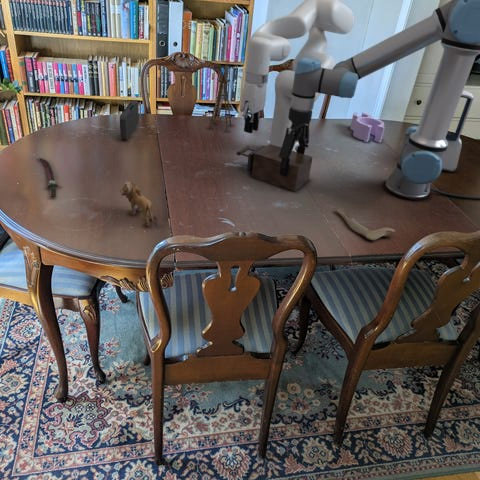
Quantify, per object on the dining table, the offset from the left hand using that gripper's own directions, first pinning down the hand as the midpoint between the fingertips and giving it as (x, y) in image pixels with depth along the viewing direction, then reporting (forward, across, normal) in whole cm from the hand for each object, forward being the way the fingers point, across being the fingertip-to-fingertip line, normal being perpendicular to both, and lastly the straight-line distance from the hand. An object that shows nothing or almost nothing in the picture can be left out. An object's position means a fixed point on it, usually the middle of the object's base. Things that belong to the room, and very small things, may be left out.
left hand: (250, 130), depth 165 cm
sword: (+14, +52, -45) cm, 70 cm away
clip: (+14, -70, +23) cm, 75 cm away
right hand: (+10, 0, +18) cm, 20 cm away
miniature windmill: (+14, -30, -31) cm, 45 cm away
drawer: (+13, 0, +8) cm, 15 cm away
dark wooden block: (+14, 0, +14) cm, 20 cm away
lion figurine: (+14, +52, -6) cm, 54 cm away
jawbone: (+14, +12, +49) cm, 53 cm away
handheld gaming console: (+14, +2, -55) cm, 57 cm away
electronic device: (+14, -54, +59) cm, 82 cm away
